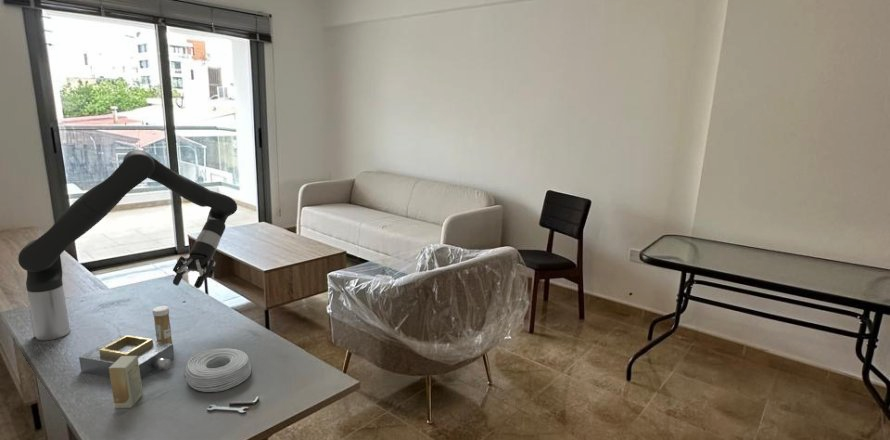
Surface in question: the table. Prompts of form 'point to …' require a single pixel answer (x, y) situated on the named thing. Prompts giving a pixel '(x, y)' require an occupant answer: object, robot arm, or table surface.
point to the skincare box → (125, 381)
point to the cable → (217, 369)
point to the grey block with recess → (146, 349)
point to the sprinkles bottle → (162, 324)
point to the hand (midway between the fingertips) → (185, 286)
